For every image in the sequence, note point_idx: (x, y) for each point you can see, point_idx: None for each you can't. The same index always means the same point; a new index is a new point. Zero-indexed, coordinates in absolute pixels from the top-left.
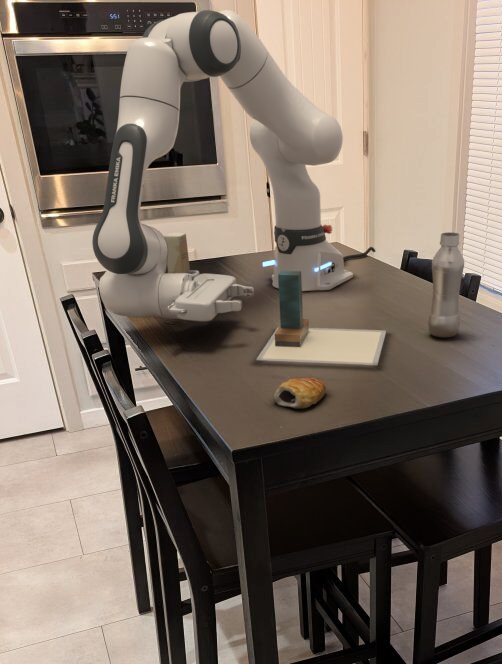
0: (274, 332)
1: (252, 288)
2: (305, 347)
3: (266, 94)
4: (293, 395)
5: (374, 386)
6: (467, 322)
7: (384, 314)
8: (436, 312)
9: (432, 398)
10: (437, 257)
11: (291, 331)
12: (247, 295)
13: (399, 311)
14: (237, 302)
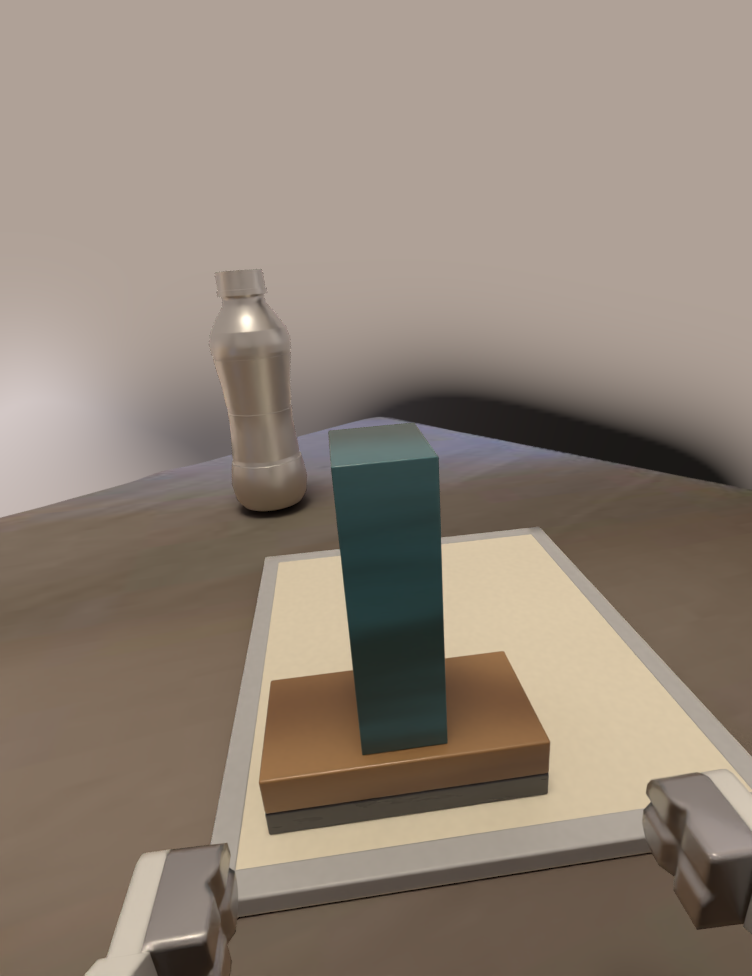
0: (324, 883)
1: (171, 850)
2: None
3: None
4: None
5: (641, 523)
6: (179, 497)
7: (56, 603)
8: (290, 450)
9: (621, 474)
10: (266, 323)
11: (475, 687)
12: (225, 942)
13: (38, 583)
14: (737, 782)
